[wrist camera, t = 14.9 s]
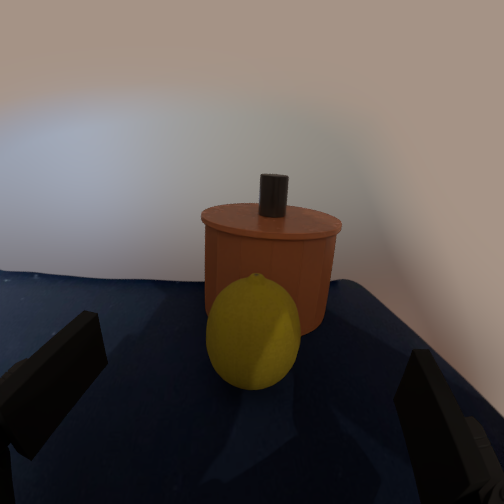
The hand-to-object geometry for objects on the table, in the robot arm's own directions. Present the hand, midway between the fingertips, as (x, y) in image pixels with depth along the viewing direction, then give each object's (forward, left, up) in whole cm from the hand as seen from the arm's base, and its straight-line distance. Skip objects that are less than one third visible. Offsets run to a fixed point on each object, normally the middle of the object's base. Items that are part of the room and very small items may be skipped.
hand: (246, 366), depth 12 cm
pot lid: (+7, -16, +2) cm, 18 cm away
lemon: (+2, -5, -7) cm, 9 cm away
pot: (+7, -16, -6) cm, 19 cm away
